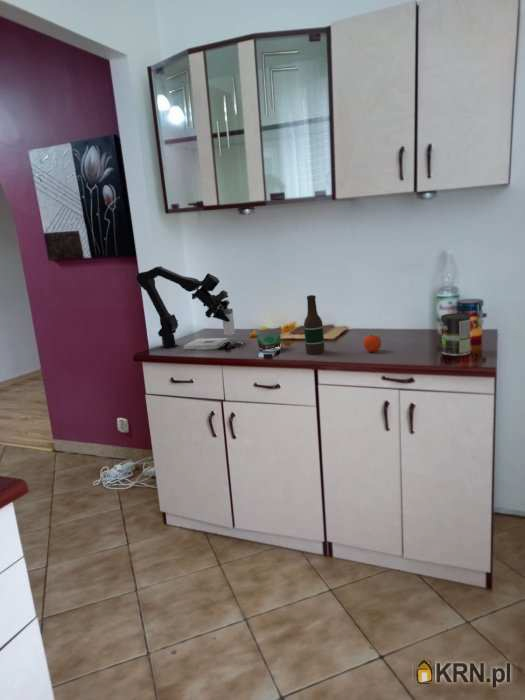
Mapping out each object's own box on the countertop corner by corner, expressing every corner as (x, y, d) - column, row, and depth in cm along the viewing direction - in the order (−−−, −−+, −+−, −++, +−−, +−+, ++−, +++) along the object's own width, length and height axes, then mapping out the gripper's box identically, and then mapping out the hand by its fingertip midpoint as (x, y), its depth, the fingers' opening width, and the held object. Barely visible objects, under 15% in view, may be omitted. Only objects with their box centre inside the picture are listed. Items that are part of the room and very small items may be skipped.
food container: (260, 354, 226) (257, 331, 224) (256, 351, 232) (254, 329, 230) (287, 350, 229) (285, 327, 227) (282, 347, 235) (280, 325, 233)
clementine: (376, 348, 216) (375, 331, 214) (387, 350, 210) (386, 333, 208) (360, 352, 213) (359, 334, 211) (371, 354, 207) (370, 337, 205)
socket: (184, 349, 250) (183, 345, 250) (197, 342, 264) (196, 338, 264) (217, 348, 245) (216, 344, 245) (228, 341, 259) (228, 337, 259)
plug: (224, 335, 248) (221, 310, 246) (227, 333, 252) (224, 308, 249) (232, 334, 247) (229, 309, 245) (234, 333, 251) (232, 308, 248)
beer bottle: (305, 351, 223) (301, 295, 218) (323, 349, 223) (319, 293, 217) (306, 355, 215) (301, 297, 210) (325, 353, 215) (321, 295, 210)
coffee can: (445, 356, 193) (444, 319, 190) (439, 350, 203) (438, 314, 200) (474, 354, 192) (474, 316, 189) (466, 348, 202) (466, 312, 199)
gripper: (208, 288, 237) (233, 311, 236) (223, 283, 254) (247, 304, 253) (194, 306, 241) (219, 329, 240) (210, 300, 259) (233, 321, 258)
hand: (230, 320), depth 248 cm, fingers closed on plug, 4 cm apart
